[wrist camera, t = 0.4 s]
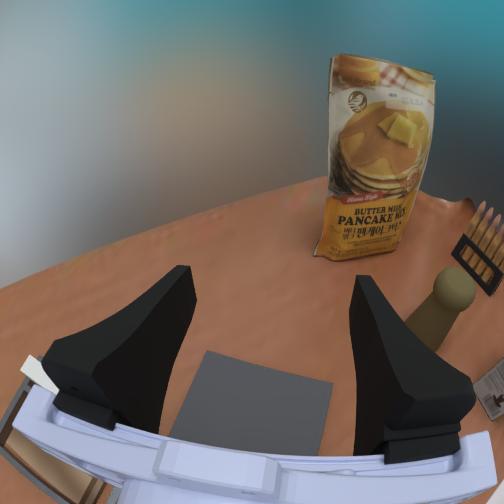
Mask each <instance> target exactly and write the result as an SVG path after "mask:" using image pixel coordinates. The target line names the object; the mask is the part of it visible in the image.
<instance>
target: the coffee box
mask: <svg viewBox="0 0 504 504" xmlns="http://www.w3.org/2000/svg"><path fill="white" fill-rule="evenodd" d="M473 388H474V392H475V393H476V395H477V397H478V398H479V400H480V402H481V404H482V405H483V407H484V409H485V411H486V412H487V414H488V416H489V418H490V419H491V421H493V420H495V419H496V418H498V417H499V416H501V415H503V414H504V357H503V358H502V359H501V360H500V361H499V362H498V363H497V364H496V365H495V366H494V367H493V368H492V369H490V370H489V371H488V372H487V373H486V374H485V375H484V376H483V377H481V378H480V379H479V380H478V381H477V382H476V383H474V384H473Z"/></svg>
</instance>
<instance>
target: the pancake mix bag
mask: <svg viewBox="0 0 504 504" xmlns="http://www.w3.org/2000/svg"><path fill="white" fill-rule="evenodd" d="M432 78H433V74H431V73H429V72H427V71H423V70H419V69H415V68H411V67H406V66H402V65H400V64H397V63H393V62H390V61H386V60H382V59H377V58H371V57H366V56H360V55H352V54H339V55H337V56H335V57H333V58H331V59H330V69H329V85H328V104H329V105H328V106H329V125H328V143H327V155H328V156H327V157H328V158H327V159H328V185H327V192H326V197H325V203H324V222H323V230H322V236H321V238H320V240H319V241H318V243H317V245H316V248H315V250H314V253H313V256H324V257H326V258H328V259H329V260H331V261H344V260H350V259H355V258H361V257H366V256H371V255H376V254H383V253H388V252H392V251H395V250H396V246H397V242H399V241H401V238H402V234H403V230H404V228H405V226H406V223H407V221H408V218H409V216H410V213H411V210H412V208H413V205H414V201H415V197H416V195H417V192H418V189H419V186H420V183H421V180H422V176H423V173H424V170H425V167H426V164H427V159H428V154H429V150H430V146H431V141H432V135H433V127H434V115H435V102H436V81H435V80H432Z"/></svg>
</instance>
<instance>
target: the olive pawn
mask: <svg viewBox="0 0 504 504" xmlns="http://www.w3.org/2000/svg"><path fill="white" fill-rule="evenodd" d="M475 294H476V287H475V283H474V281H473V279H472V278H471V276H470V275H469V274H468V273H467V272H465V271H464V270H462V269H460V268H458V267H448V268H445V269H444V270H442V271H441V272H440V273H439V274H438V276H437V277H436V280H435V282H434V286H433V292H432V293H431V294H430V295H429V296H428V297H427V298H426V299H425V301H424V302H423V303H422V304H421V305H420V306H419V307H418V308H417V309H416V310H415V311H414V312H413V314H412V315H411V316H410V317H409V318H408V319H407V320H406V321H405V322H404V323H405V324H406V325H407V326H408V328H409V329H410V330H411V331H412V332H413V333H414V334H415V335H416V336H417V337H418V338H419V339H420V340H421V341H422V342H423V343H424V344H425V345H426V346H427V347H429V348H430V349H431V350H432V351H433V352H434V353H435V352H436V351H437V350H438V348H439V346H440V345H441V343H442V342H443V340H444V338H445V337H446V335H447V333H448V332H449V330H450V328H451V327H452V325H453V323H454V322H455V320H456V318H457V316H458V314H459V313H460V312H462V311H464V310H466V309H467V308H468V307H469V306H470V305H471V303H472V302H473V300H474V298H475Z"/></svg>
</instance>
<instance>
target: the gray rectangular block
mask: <svg viewBox="0 0 504 504" xmlns="http://www.w3.org/2000/svg"><path fill="white" fill-rule="evenodd" d="M20 370H21V371H22V372H23V373H24V374H25V375H26V376H27V377H29V378H30V379H31V380H32V381H33V382H34V383H36V384H37V385H38V386H40V387H43V388H45V389H47V390H49V391H51V392H53V393H54V394H56V395H57V393H58V391H59V389H58V388H57V387H56V386H55V384H54V383H53V382H52V381H51V380H50V378H49V377H48V376H47V375H46V373H45V372H44V370H43V368H42V365H41V362H39V361H38V360H36V359H35V358H33V357H32V356H31V355H29V357H28V358H27V360H26V361H25V363H24V365H23V366H22V368H21V369H20Z"/></svg>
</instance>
